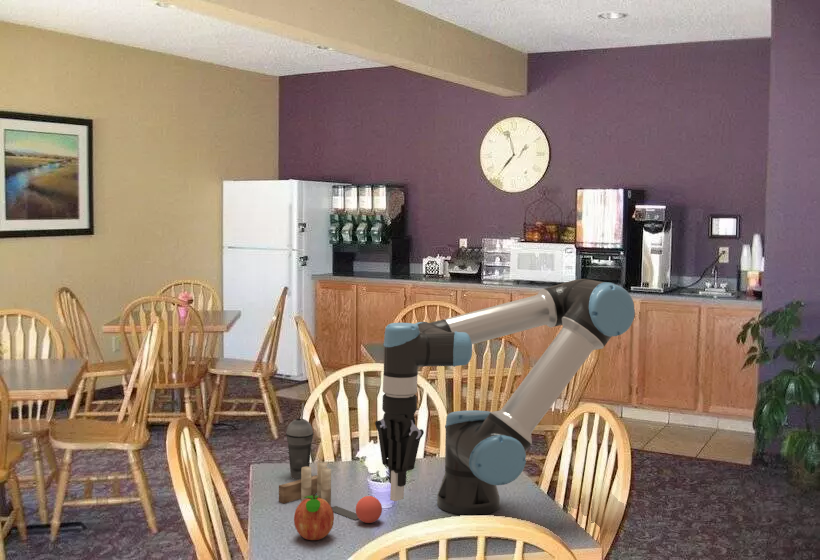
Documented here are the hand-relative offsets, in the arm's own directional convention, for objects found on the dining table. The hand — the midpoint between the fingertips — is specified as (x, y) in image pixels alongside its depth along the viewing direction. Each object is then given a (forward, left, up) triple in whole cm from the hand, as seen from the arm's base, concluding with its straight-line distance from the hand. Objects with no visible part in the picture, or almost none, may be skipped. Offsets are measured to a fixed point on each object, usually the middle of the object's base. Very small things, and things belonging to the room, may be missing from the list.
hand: (397, 499), depth 199 cm
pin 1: (+28, -8, -8) cm, 30 cm away
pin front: (+23, -8, -8) cm, 25 cm away
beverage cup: (+40, -25, -8) cm, 48 cm away
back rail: (+32, -12, -8) cm, 35 cm away
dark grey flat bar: (+16, -6, -8) cm, 19 cm away
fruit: (+15, +10, -8) cm, 20 cm away
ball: (+9, -3, -5) cm, 11 cm away
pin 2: (+26, -12, -8) cm, 30 cm away
